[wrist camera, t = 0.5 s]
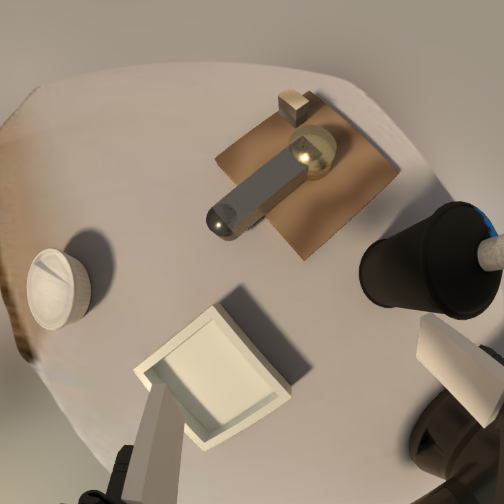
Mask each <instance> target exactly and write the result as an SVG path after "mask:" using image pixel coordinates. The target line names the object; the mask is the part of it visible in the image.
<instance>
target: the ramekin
mask: <svg viewBox="0 0 504 504" xmlns="http://www.w3.org/2000/svg"><path fill="white" fill-rule="evenodd" d="M27 297H28V303H29V306H30V309H31V312H32V314H33V316H34V318H35V319H36V321H37V322H38V323H39V324H40V325H41V326H42V327H44V328H46V329H48V330H58V329H61V328H63V327H65V326H66V325H69V324H71V323H74V322H76V321H78V320H79V319H81V318H82V317H83V316H84V314H85V313H86V311H87V309H88V306H89V303H90V298H91V284H90V280H89V276H88V274H87V271H86V269H85V267H84V266H83V265H82V264H81V263H80V262H79V261H78V260H77V259H75V258H73V257H71V256H69V255H67V254H66V253H65V252H63V251H62V250H60V249H56V248H48V249H45V250H43V251H42V252H40V253H39V254H38V255H37V256H36V258H35V259H34V261H33V263H32V265H31V267H30V270H29V274H28V279H27Z"/></svg>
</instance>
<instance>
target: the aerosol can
mask: <svg viewBox="0 0 504 504" xmlns="http://www.w3.org/2000/svg"><path fill="white" fill-rule="evenodd" d="M503 269H504V234H503V235H499V236H498V234H497V232H496V231H495V229H494V227H493V225H492V223H491V222H490V220H489V219H488V218H487V216H486V215H485V214H484V213H483V212H482V211H480V210H479V209H478V208H477V207H475V206H473V205H471V204H470V203H466V202H462V201H458V202H450V203H447V204H444V205H443V206H441V207H440V208H438V209H437V210H436V211H435V213H434V214H433V215H432V216H430V217H428V218H427V219H425V220H423V221H421V222H419V223H417V224H415V225H413V226H411V227H409V228H408V229H406V230H404V231H402V232H400V233H398V234H396V235H394V236H392V237H390V238H388V239H382V240H379V241H377V242H375V243H374V244H372V245H371V246H370V247H369V248H368V249H367V250H366V252H365V253H364V255H363V257H362V259H361V262H360V266H359V280H360V284H361V287H362V289H363V291H364V293H365V295H366V296H367V297H368V299H369V300H371V301H372V302H373V303H374V304H376V305H378V306H381V307H384V308H393V307H399V308H406V309H413V310H420V311H427V312H434V313H441V314H446V315H447V316H449V317H451V318H454V319H457V320H467V319H471V318H474V317H476V316H478V315H480V314H481V313H483V312H484V311H485V310H486V309H487V308H488V307H489V305H490V304H491V302H492V301H493V300H494V298H495V296H496V293H497V291H498V289H499V285H500V282H501V277H502V272H503Z"/></svg>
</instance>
